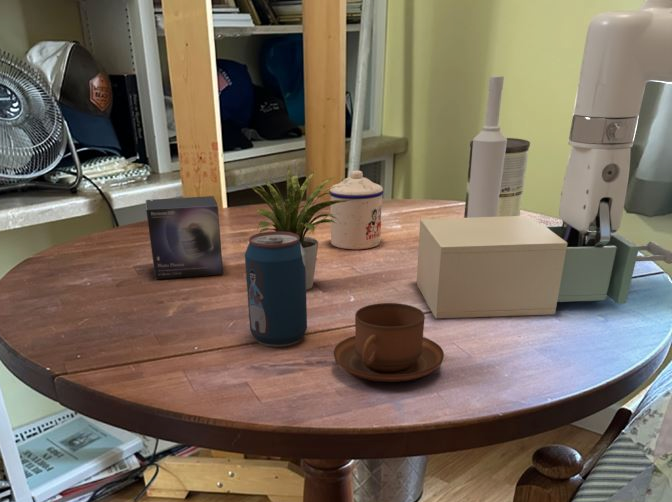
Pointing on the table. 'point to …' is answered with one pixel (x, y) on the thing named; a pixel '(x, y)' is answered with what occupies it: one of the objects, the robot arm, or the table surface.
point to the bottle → (488, 158)
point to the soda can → (276, 288)
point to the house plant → (296, 216)
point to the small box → (185, 237)
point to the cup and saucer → (388, 345)
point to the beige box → (489, 266)
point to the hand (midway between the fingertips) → (573, 278)
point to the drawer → (603, 268)
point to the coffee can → (508, 178)
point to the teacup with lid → (356, 213)
